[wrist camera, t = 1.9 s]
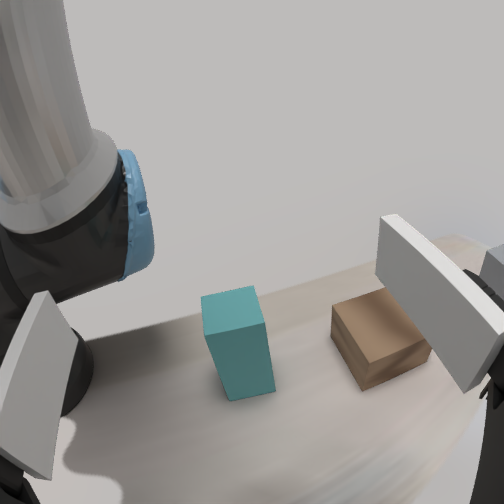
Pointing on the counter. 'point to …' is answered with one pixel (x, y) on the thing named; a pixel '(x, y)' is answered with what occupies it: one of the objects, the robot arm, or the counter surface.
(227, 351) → the teal pillar
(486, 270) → the grey pillar
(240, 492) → the counter surface
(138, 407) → the counter surface
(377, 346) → the walnut block
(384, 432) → the counter surface
